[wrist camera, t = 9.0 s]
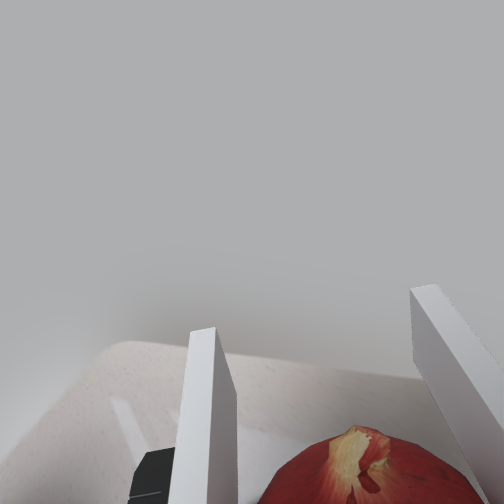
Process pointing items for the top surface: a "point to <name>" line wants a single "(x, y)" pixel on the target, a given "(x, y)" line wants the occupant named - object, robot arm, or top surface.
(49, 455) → the top surface
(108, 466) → the top surface
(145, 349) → the top surface
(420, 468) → the red pomegranate
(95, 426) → the top surface
